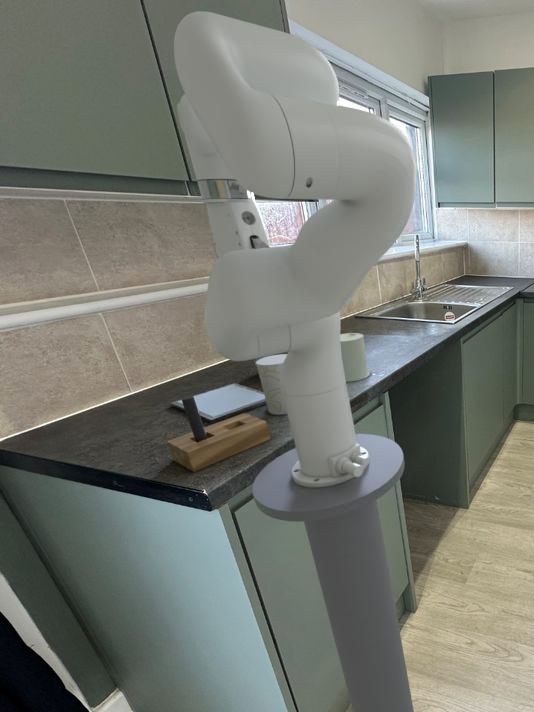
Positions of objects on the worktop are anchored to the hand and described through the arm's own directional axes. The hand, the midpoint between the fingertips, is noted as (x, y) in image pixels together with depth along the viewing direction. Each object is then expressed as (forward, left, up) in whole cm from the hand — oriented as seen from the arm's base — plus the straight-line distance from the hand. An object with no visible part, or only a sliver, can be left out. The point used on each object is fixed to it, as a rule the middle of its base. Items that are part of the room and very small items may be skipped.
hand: (253, 296), depth 76 cm
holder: (+5, +10, -28) cm, 30 cm away
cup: (+13, -8, -28) cm, 32 cm away
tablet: (+30, -2, -28) cm, 41 cm away
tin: (+40, -20, -28) cm, 53 cm away
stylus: (+5, +13, -28) cm, 32 cm away
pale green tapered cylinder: (+17, -30, -28) cm, 45 cm away
